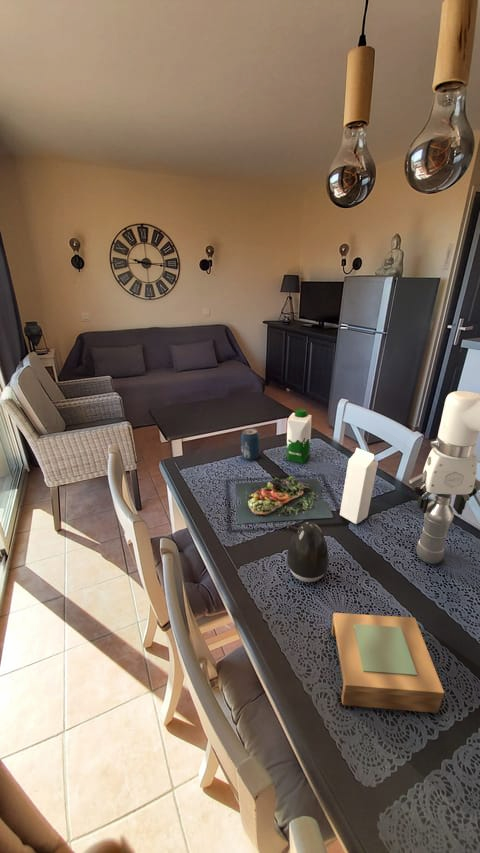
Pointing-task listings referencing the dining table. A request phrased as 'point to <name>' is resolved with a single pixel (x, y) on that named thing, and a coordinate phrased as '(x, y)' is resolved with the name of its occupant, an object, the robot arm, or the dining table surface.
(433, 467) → the robot arm
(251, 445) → the soda can
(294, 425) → the milk carton
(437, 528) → the silver metal bottle
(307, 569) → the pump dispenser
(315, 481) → the plated dish
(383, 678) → the wooden block
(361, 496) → the milk
